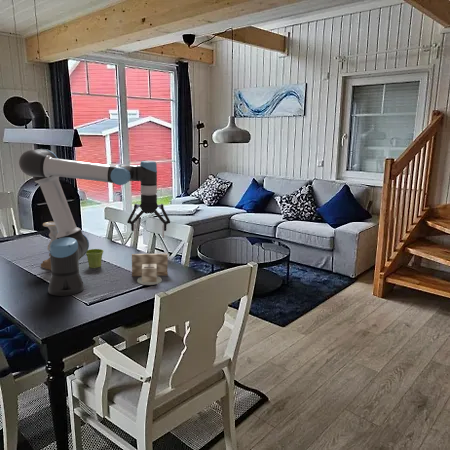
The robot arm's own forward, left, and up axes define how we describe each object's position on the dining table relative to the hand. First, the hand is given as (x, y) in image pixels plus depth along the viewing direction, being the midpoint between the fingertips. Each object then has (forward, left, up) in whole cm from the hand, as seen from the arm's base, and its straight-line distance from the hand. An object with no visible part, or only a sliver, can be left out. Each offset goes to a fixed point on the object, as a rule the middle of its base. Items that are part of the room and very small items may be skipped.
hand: (149, 237), depth 193 cm
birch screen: (+8, +5, -22) cm, 24 cm away
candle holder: (-6, +56, -23) cm, 61 cm away
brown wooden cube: (0, 0, -22) cm, 22 cm away
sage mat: (0, 0, -22) cm, 22 cm away
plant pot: (+4, +38, -22) cm, 44 cm away
